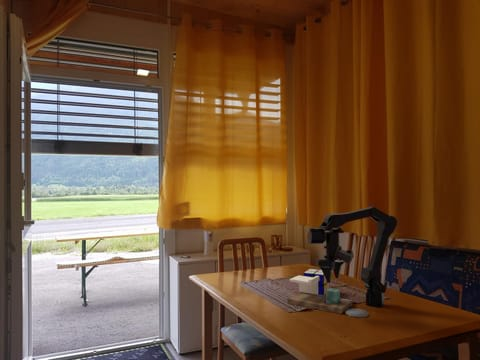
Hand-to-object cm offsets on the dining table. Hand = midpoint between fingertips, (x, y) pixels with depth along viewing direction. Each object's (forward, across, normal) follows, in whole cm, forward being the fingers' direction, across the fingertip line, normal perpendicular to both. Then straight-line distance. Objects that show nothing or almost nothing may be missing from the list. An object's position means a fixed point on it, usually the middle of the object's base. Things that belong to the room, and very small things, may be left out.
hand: (333, 280), depth 155 cm
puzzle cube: (+12, +17, +15) cm, 25 cm away
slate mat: (+11, -3, -11) cm, 16 cm away
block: (+11, 0, 0) cm, 11 cm away
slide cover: (+9, +1, +13) cm, 16 cm away
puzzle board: (+11, 0, +6) cm, 13 cm away
